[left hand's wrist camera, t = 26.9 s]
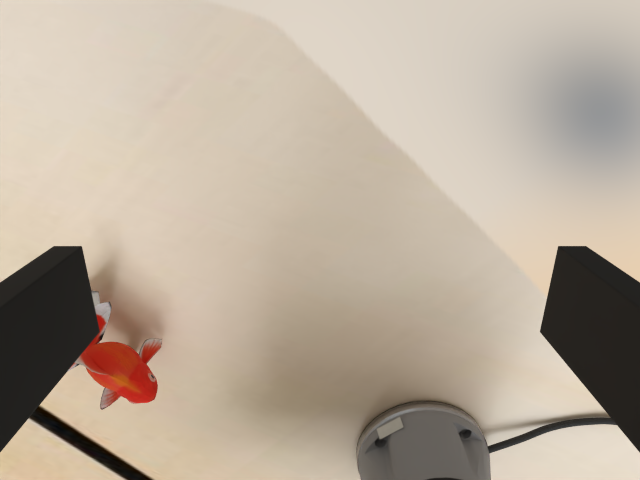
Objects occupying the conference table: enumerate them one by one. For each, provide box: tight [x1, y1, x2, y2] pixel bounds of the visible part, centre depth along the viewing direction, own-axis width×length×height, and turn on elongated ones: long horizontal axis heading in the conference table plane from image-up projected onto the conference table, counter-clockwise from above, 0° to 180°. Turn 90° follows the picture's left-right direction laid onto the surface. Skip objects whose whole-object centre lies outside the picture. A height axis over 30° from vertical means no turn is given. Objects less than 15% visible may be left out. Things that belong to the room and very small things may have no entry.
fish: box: [68, 291, 162, 409], centre depth 43 cm, size 11×16×10 cm
